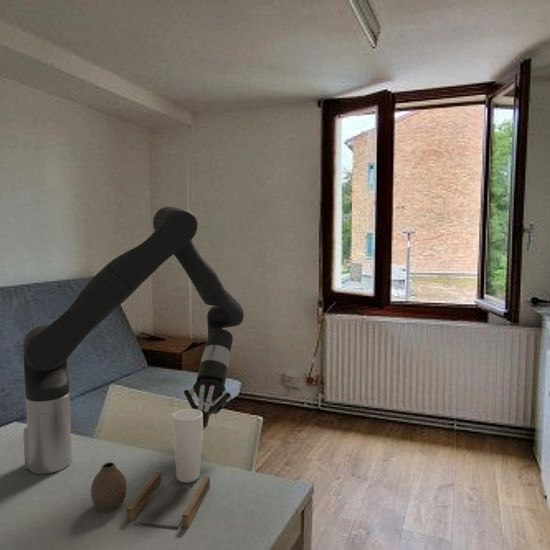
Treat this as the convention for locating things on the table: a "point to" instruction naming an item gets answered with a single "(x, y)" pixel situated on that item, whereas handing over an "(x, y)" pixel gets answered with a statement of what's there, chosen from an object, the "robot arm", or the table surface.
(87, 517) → the table surface
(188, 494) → the cradle
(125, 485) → the vase
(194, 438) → the white cup
